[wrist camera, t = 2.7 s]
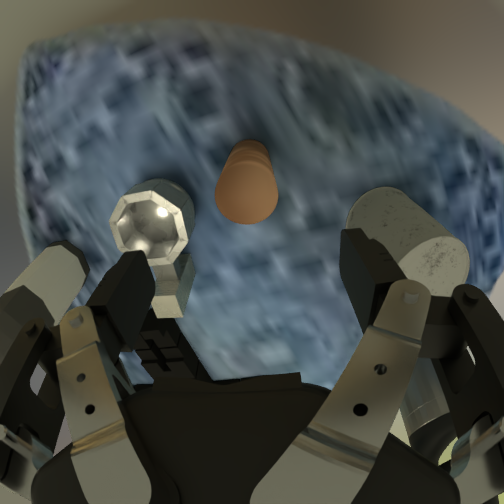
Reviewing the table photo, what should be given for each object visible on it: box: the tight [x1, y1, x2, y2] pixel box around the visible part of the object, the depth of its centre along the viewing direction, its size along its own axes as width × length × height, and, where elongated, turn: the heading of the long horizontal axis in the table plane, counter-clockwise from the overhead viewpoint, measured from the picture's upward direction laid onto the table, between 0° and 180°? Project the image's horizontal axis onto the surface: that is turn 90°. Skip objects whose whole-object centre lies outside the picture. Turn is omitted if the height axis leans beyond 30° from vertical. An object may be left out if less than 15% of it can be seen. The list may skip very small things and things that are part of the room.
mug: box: [109, 178, 196, 318], centre depth 29 cm, size 8×13×8 cm, turn 7°
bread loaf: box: [215, 139, 278, 224], centre depth 23 cm, size 4×4×12 cm
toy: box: [133, 309, 256, 392], centre depth 44 cm, size 30×5×30 cm
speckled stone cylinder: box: [346, 187, 470, 297], centre depth 26 cm, size 10×10×12 cm
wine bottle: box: [0, 240, 90, 365], centre depth 22 cm, size 8×8×30 cm
